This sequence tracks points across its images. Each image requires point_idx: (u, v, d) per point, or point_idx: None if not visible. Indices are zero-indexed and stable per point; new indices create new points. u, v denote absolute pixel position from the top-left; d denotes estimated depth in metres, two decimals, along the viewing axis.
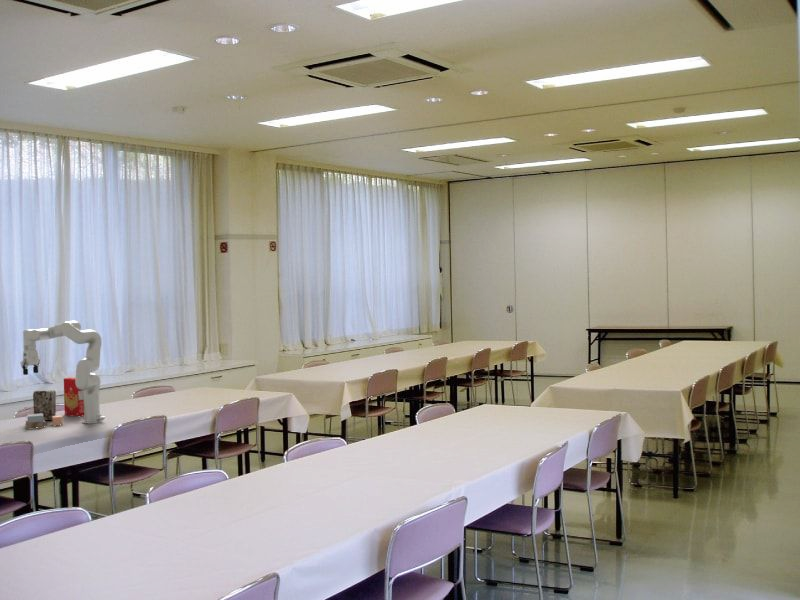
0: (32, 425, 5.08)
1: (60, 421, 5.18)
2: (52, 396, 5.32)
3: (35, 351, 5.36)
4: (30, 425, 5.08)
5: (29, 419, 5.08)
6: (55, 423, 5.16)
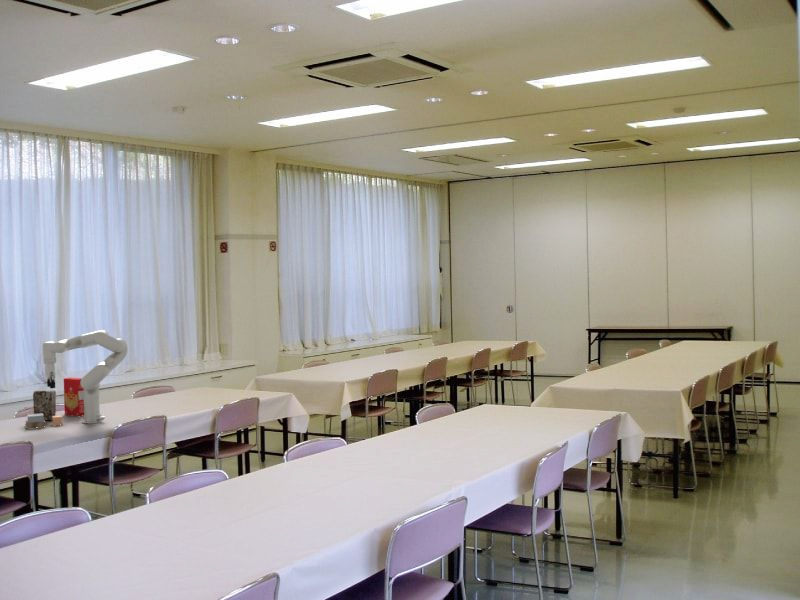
0: (32, 425, 5.08)
1: (60, 421, 5.18)
2: (52, 396, 5.32)
3: (46, 365, 5.19)
4: (30, 425, 5.08)
5: (29, 419, 5.08)
6: (55, 423, 5.16)
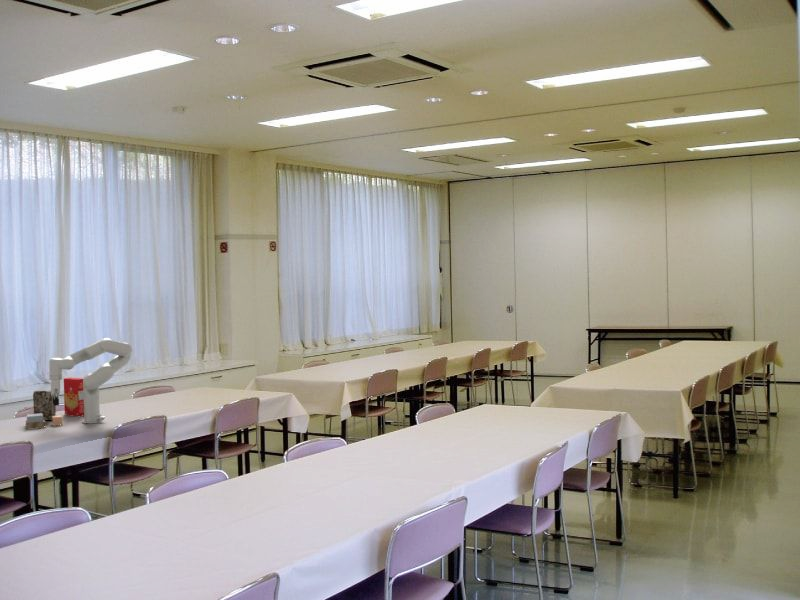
0: (32, 425, 5.08)
1: (60, 421, 5.18)
2: (52, 397, 5.32)
3: (51, 381, 5.15)
4: (30, 425, 5.08)
5: (29, 419, 5.08)
6: (55, 423, 5.16)
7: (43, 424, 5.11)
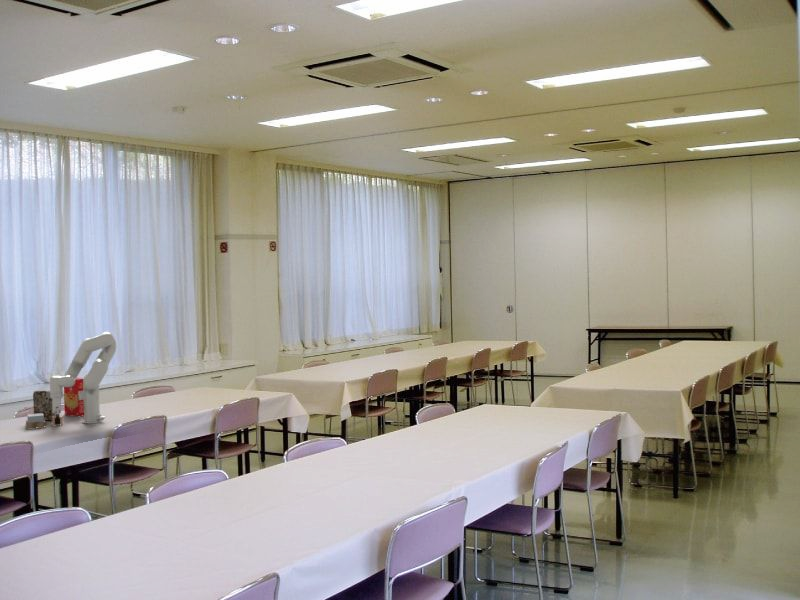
0: (32, 425, 5.08)
1: (60, 421, 5.18)
2: None
3: (52, 400, 5.16)
4: (31, 425, 5.08)
5: (29, 419, 5.08)
6: None
7: (43, 424, 5.11)
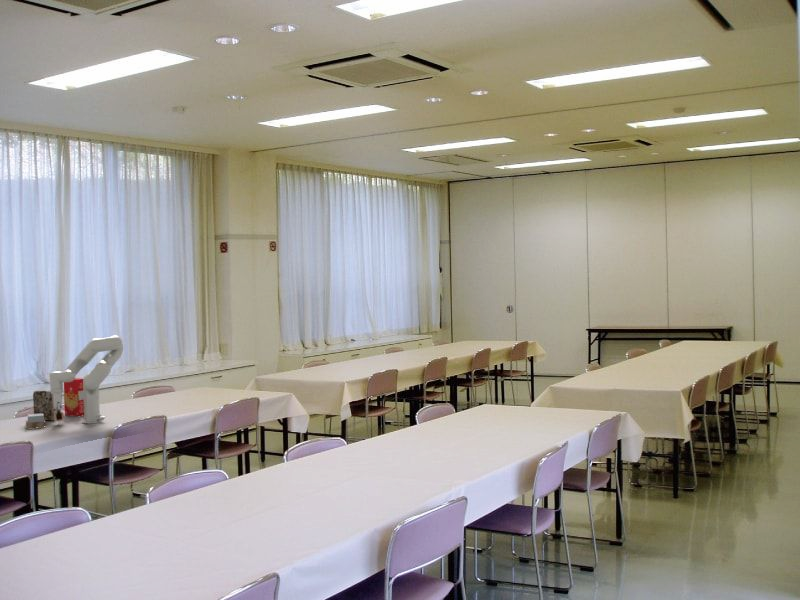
0: (32, 425, 5.08)
1: (62, 416, 5.18)
2: (52, 396, 5.32)
3: (53, 395, 5.16)
4: (30, 425, 5.08)
5: (29, 419, 5.08)
6: None
7: (43, 424, 5.11)
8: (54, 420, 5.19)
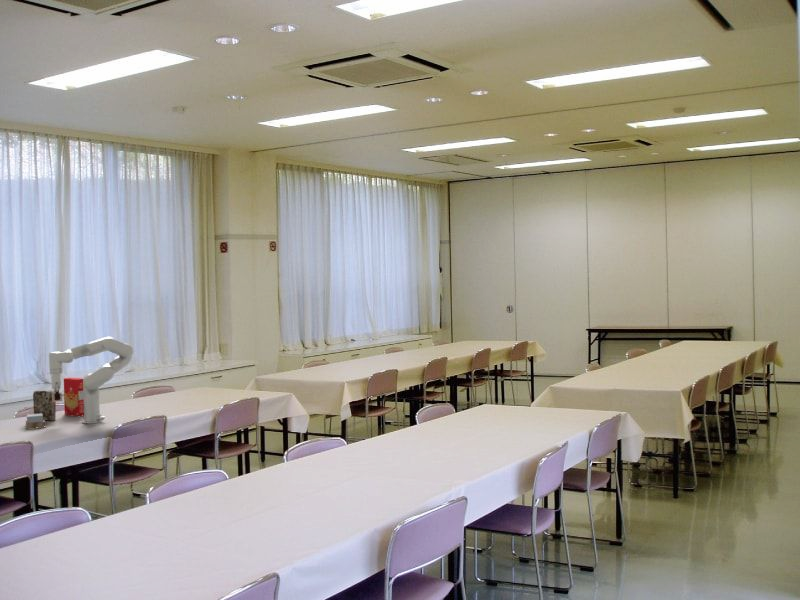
0: (32, 425, 5.08)
1: (60, 397, 5.17)
2: None
3: (51, 375, 5.15)
4: (31, 425, 5.08)
5: (28, 419, 5.08)
6: None
7: (43, 424, 5.11)
8: (52, 400, 5.19)
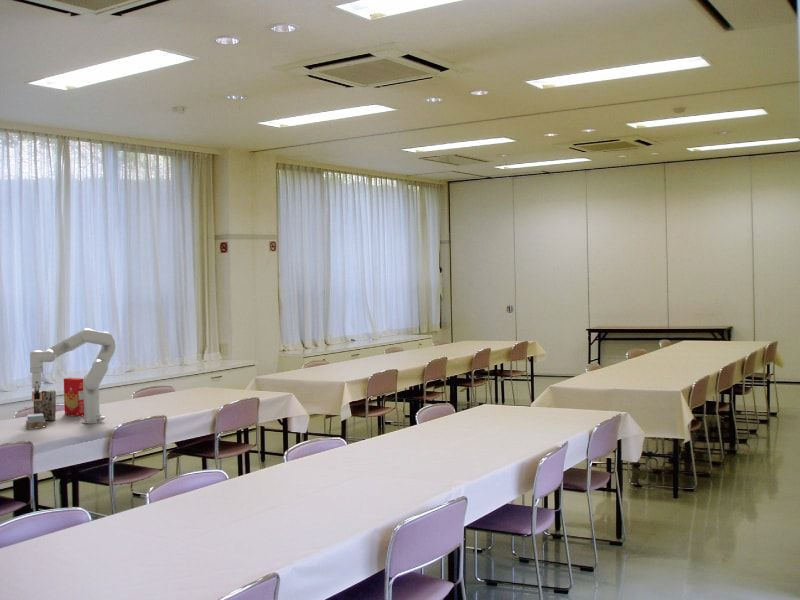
0: (32, 425, 5.08)
1: None
2: (52, 396, 5.32)
3: (32, 374, 5.10)
4: (31, 425, 5.08)
5: (29, 419, 5.08)
6: None
7: (43, 424, 5.11)
8: None
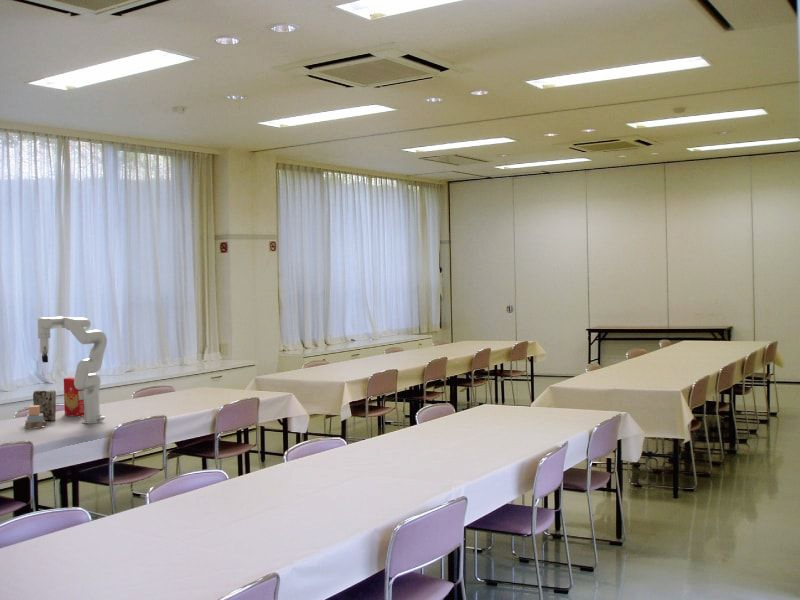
0: (31, 425, 5.08)
1: (36, 411, 5.12)
2: (52, 396, 5.32)
3: (40, 340, 5.37)
4: (30, 425, 5.08)
5: (29, 419, 5.09)
6: (31, 413, 5.11)
7: (43, 424, 5.11)
8: None
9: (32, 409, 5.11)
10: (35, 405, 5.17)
